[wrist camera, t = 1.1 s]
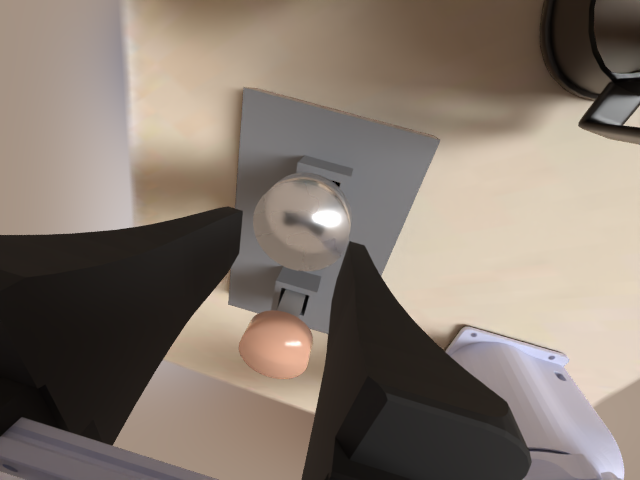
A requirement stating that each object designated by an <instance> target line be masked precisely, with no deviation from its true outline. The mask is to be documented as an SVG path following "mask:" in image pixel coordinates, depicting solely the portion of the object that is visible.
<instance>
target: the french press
mask: <svg viewBox="0 0 640 480" xmlns="http://www.w3.org/2000/svg"><path fill="white" fill-rule="evenodd" d="M595 2H596V0H545V2H544V5H543V11H542V18H541V24H540V42H541V50H542V54H543V58H544V62H545V65H546V66H547V68H548V70H549V72H550V74H551V75H552V77H553V78H554V79H555V80H556V81H557V82H558V83H559V84H560V85H561V86H562V87H563V88H564V89H565V90H567V91H569V92H571V93H573V94H575V95H577V96H578V97H583V98H587V99H591V100H595V101H594V102H593V104H592V105H591V106H590V108H589V109H588V110H587V112H586V113H585V114H584V116H583V117H582V118H581V120H580V121H579V125H578V126H579V127H580V128H582V129H584V130H587V131H590V132H592V133H595V134H598V135H600V136H603V137H606V138H608V139H612V140H618V141H623V142H629V143H634V144H639V145H640V128H638V127H630V126H623V124H624V123H625V122H626V121H627V120H628V119H629V117H630V116H631V115H632V114H633V113H634V111H635V110H636V109H637V108H638V107H639V106H640V72H634V73H614V72H611V71H610V70H609V69H608V68H607V67H606V66H605V64H604V62H603V60H602V58H601V56H600V54H599V52H598V50H597V45H596V40H595V34H594V6H595Z"/></svg>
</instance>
